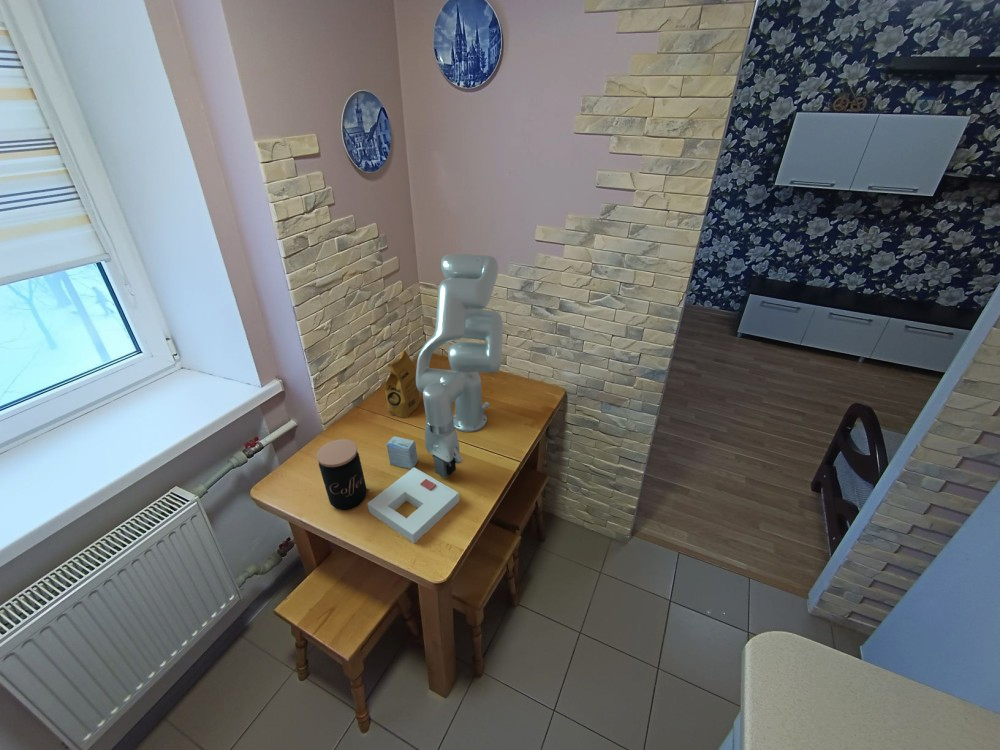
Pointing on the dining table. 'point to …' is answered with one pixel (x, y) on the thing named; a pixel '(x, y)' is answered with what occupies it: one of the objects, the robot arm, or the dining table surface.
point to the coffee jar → (342, 474)
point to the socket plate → (414, 503)
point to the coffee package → (402, 387)
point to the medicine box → (402, 452)
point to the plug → (440, 466)
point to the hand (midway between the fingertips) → (445, 468)
